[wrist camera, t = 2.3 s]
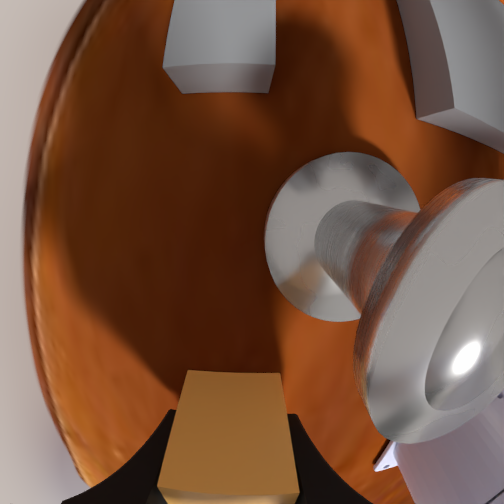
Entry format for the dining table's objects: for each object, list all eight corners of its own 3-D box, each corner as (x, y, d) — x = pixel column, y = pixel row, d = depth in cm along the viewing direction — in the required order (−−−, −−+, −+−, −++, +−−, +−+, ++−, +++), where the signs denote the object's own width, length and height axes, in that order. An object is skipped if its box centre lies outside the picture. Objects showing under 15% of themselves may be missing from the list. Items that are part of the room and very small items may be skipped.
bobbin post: (417, 166, 9) (575, 173, 2) (398, 308, 10) (504, 417, 3) (266, 147, 9) (326, 46, 2) (260, 312, 10) (277, 491, 3)
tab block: (280, 373, 11) (299, 492, 5) (273, 427, 12) (282, 525, 6) (188, 369, 11) (157, 485, 5) (195, 425, 12) (179, 521, 6)
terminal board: (510, 38, 6) (531, 31, 4) (535, 171, 9) (562, 174, 6) (208, -60, 6) (203, -90, 3) (182, 93, 8) (162, 67, 6)
